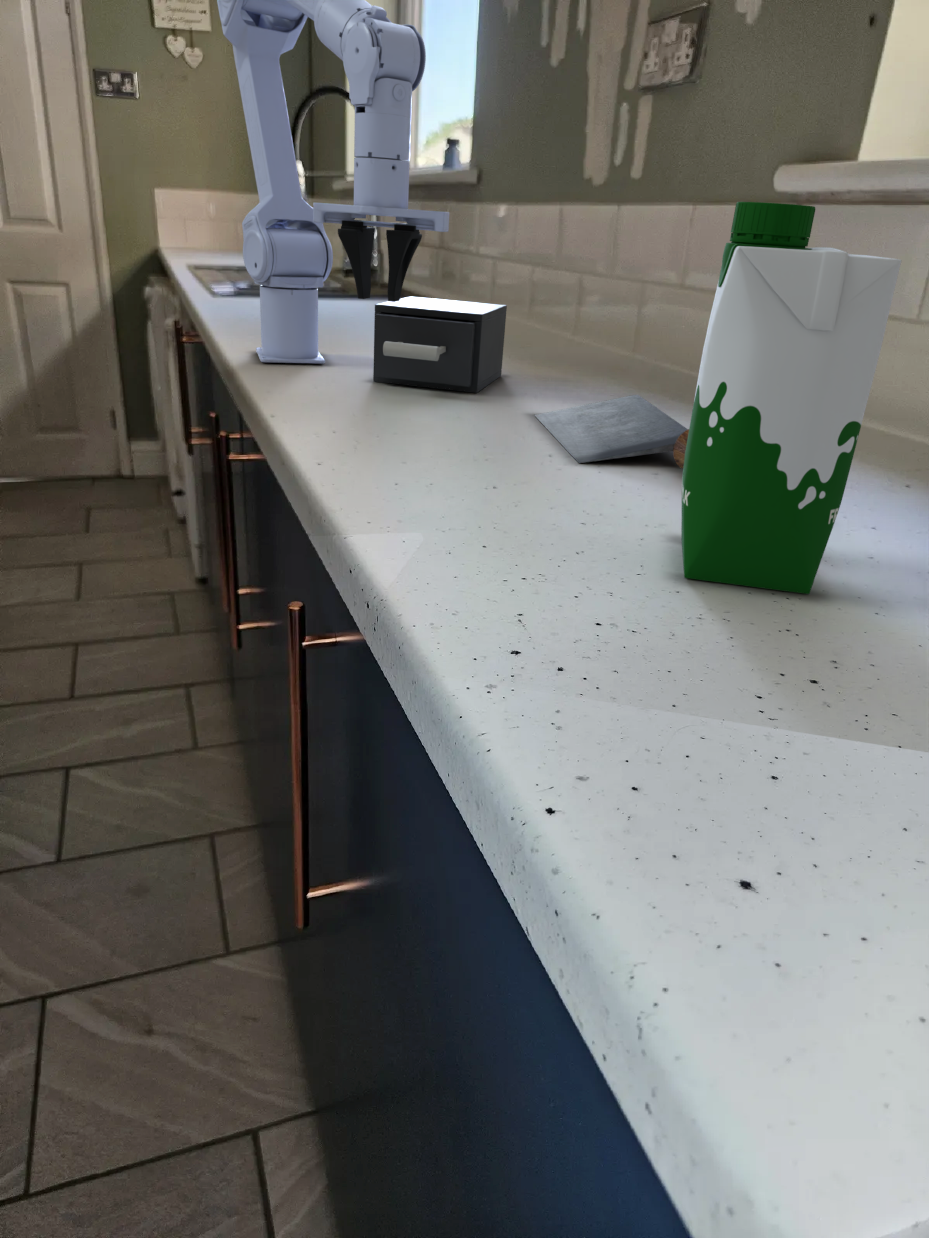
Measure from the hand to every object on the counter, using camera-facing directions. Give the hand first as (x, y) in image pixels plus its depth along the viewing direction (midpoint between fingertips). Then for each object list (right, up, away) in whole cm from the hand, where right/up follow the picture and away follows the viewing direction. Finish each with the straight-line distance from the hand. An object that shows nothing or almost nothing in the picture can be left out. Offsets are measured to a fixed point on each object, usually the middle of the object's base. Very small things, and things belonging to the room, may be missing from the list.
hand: (378, 299), depth 95 cm
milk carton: (+27, -32, -42) cm, 59 cm away
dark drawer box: (+5, -6, +7) cm, 11 cm away
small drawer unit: (+6, -5, +12) cm, 14 cm away
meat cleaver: (+24, -21, -19) cm, 37 cm away
